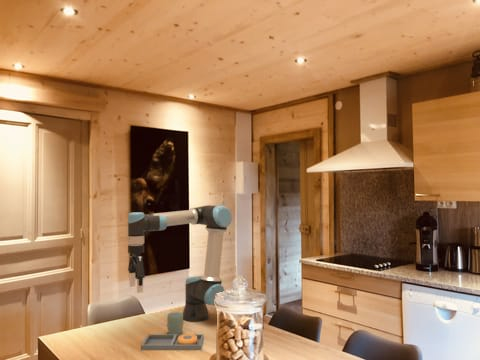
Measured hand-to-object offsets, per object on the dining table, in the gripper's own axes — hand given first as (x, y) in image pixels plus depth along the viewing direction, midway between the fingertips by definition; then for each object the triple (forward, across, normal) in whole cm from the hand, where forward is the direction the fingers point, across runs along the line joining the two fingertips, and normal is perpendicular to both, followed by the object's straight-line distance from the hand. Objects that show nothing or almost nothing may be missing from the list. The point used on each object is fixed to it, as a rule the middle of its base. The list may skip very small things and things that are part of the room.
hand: (136, 289), depth 185 cm
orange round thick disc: (+25, +15, +20) cm, 35 cm away
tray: (+25, +12, +14) cm, 31 cm away
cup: (+26, -1, +20) cm, 33 cm away
